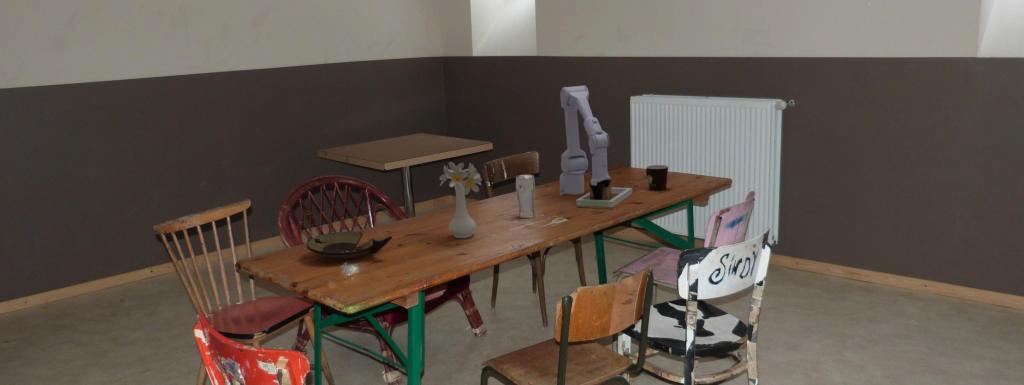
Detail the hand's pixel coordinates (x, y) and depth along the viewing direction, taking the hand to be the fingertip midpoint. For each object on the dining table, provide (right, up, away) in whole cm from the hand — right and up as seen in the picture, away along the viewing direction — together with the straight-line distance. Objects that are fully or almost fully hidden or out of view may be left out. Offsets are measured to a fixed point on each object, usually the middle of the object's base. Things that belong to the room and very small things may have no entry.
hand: (600, 200), depth 324 cm
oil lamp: (-86, -18, -53) cm, 103 cm away
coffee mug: (+25, +4, +19) cm, 32 cm away
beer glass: (-28, -6, -13) cm, 32 cm away
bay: (+2, -1, +5) cm, 5 cm away
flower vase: (-50, -12, -36) cm, 63 cm away
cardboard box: (0, -1, 0) cm, 1 cm away
